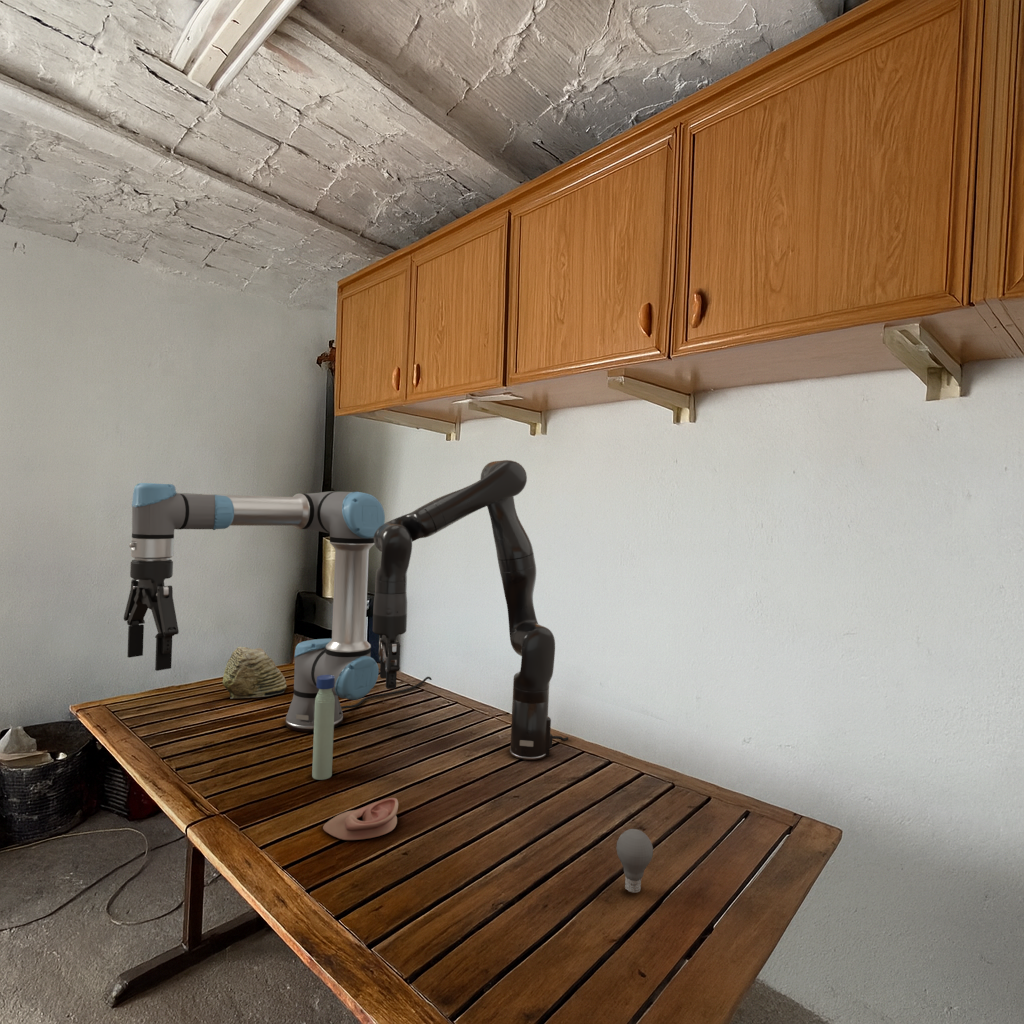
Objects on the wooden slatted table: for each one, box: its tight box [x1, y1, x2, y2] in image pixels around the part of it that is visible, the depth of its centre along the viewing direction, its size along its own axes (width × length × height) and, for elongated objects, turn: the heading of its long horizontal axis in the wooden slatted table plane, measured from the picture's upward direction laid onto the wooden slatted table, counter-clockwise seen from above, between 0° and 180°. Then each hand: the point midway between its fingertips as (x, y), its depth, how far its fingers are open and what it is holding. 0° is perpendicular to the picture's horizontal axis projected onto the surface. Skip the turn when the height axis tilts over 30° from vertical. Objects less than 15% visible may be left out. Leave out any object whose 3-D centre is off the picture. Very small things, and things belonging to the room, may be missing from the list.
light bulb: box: [615, 828, 654, 894], centre depth 106 cm, size 6×6×10 cm
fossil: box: [222, 646, 288, 699], centre depth 198 cm, size 9×18×15 cm, turn 132°
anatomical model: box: [322, 797, 399, 841], centre depth 122 cm, size 13×4×12 cm
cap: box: [316, 675, 335, 689], centre depth 143 cm, size 4×4×2 cm
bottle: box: [311, 688, 335, 781], centre depth 144 cm, size 4×4×22 cm
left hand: (148, 662), depth 129 cm, fingers open, 13 cm apart
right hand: (387, 682), depth 144 cm, fingers open, 8 cm apart
